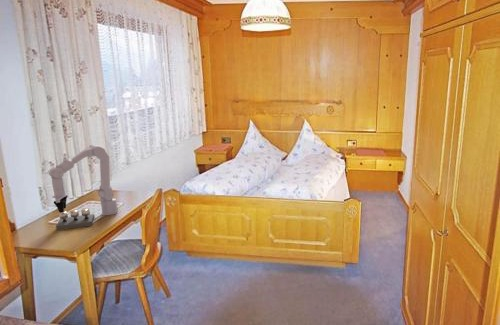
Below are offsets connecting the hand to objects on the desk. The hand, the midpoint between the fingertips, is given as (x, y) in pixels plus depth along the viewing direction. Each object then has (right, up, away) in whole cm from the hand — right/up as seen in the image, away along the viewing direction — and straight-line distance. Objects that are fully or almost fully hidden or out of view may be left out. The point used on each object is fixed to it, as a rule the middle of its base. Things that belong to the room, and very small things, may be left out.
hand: (62, 210), depth 218 cm
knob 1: (0, -7, +2) cm, 7 cm away
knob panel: (+6, -8, +4) cm, 11 cm away
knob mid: (+6, -6, +3) cm, 9 cm away
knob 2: (+12, -6, +5) cm, 14 cm away
